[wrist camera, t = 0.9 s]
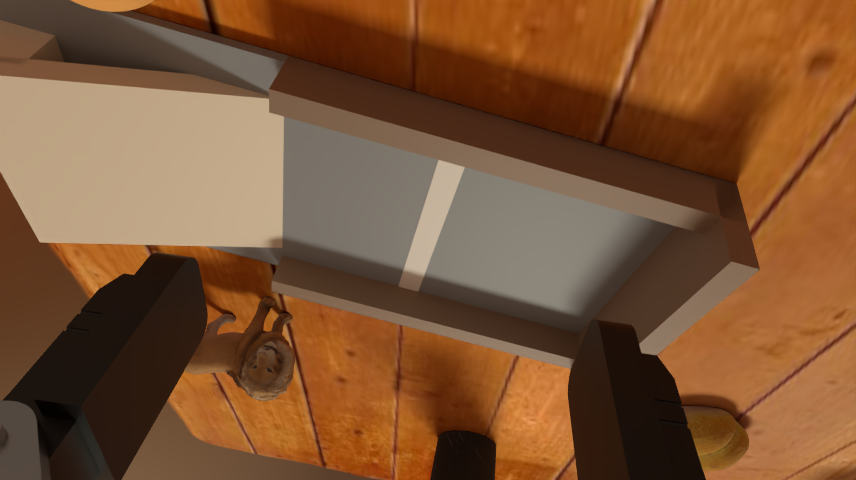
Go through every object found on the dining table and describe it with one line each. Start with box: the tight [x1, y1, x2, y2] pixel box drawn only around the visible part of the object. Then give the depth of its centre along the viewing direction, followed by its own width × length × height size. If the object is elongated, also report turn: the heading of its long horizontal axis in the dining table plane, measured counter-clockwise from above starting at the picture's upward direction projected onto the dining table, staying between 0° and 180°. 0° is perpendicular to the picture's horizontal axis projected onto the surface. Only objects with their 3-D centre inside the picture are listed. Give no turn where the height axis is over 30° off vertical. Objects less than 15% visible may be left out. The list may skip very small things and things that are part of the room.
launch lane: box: [0, 0, 760, 369], centre depth 35 cm, size 42×19×7 cm, turn 78°
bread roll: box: [681, 406, 749, 471], centre depth 53 cm, size 8×9×4 cm
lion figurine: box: [184, 296, 295, 401], centre depth 48 cm, size 15×5×9 cm, turn 110°
